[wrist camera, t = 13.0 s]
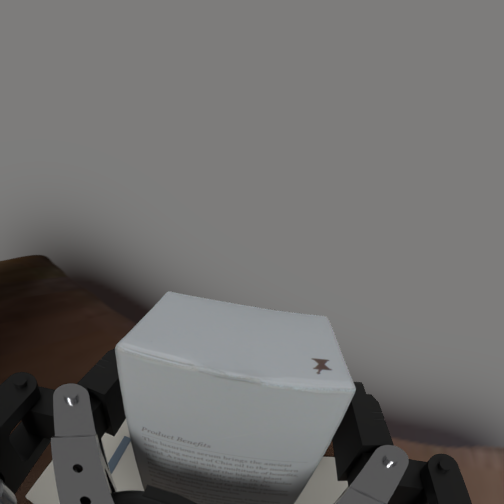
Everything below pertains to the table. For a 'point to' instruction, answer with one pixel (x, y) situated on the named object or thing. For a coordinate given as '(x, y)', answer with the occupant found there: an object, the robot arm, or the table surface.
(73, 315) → the table surface
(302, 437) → the skincare box
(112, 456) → the paper sheet
